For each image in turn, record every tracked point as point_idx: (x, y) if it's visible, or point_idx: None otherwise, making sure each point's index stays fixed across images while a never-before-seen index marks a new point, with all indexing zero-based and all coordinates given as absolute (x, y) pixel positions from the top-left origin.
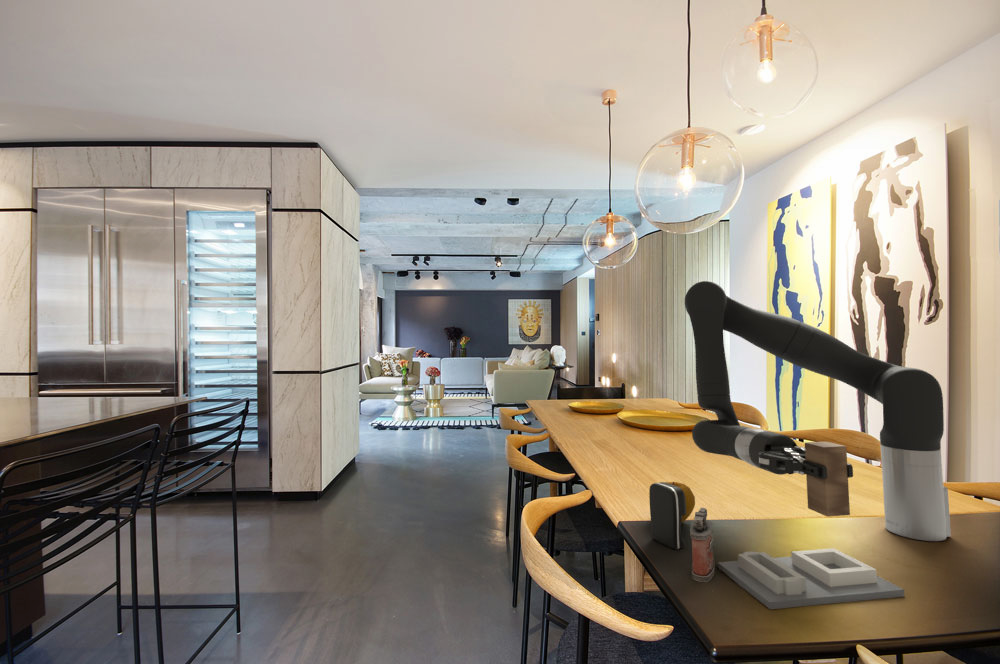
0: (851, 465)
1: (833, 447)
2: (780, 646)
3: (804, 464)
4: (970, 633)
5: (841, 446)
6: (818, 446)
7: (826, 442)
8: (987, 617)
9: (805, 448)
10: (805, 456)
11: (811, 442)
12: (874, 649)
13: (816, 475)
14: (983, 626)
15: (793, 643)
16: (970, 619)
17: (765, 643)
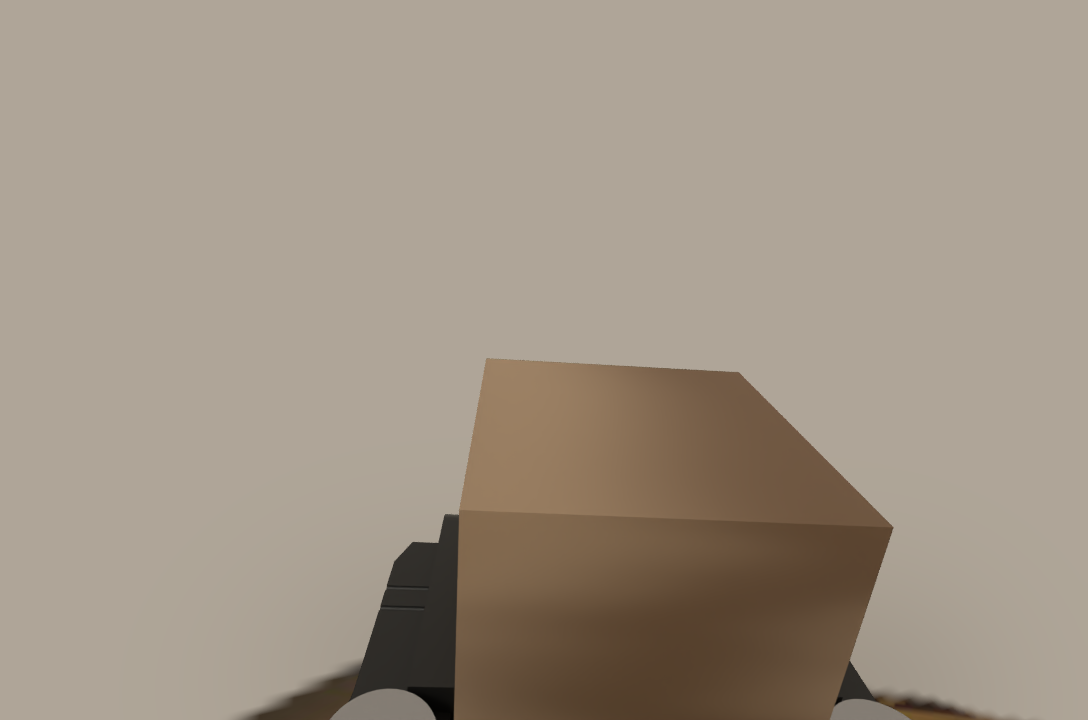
0: (452, 515)
1: (629, 374)
2: (921, 701)
3: (857, 681)
4: None
5: (542, 361)
6: (765, 404)
7: (534, 464)
8: (267, 713)
9: (858, 604)
10: (831, 709)
11: (772, 506)
12: None
13: None
14: (342, 682)
15: (886, 705)
16: (329, 713)
17: (960, 716)
